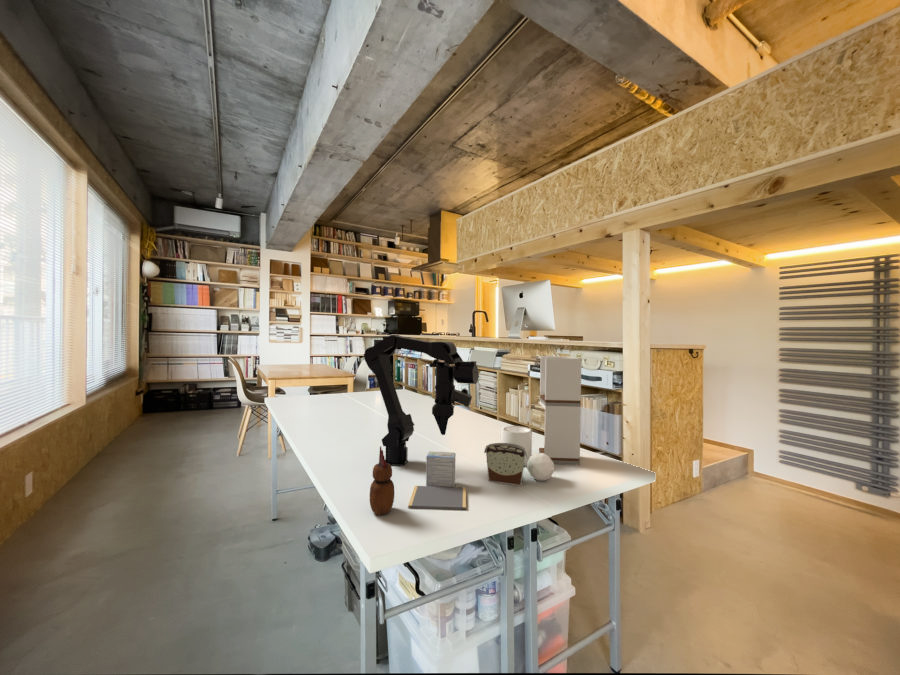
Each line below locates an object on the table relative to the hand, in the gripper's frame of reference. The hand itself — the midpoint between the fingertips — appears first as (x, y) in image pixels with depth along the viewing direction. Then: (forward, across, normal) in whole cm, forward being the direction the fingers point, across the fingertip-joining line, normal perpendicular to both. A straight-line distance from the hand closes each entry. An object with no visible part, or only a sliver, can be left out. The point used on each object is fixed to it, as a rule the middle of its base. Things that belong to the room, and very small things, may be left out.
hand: (443, 431), depth 117 cm
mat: (+12, -20, 0) cm, 23 cm away
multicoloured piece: (+12, -6, -19) cm, 23 cm away
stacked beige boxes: (+12, +14, -39) cm, 43 cm away
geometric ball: (+12, -5, -29) cm, 32 cm away
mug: (+12, +12, -24) cm, 29 cm away
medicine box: (+12, -11, 0) cm, 16 cm away
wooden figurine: (+12, -28, +13) cm, 33 cm away
